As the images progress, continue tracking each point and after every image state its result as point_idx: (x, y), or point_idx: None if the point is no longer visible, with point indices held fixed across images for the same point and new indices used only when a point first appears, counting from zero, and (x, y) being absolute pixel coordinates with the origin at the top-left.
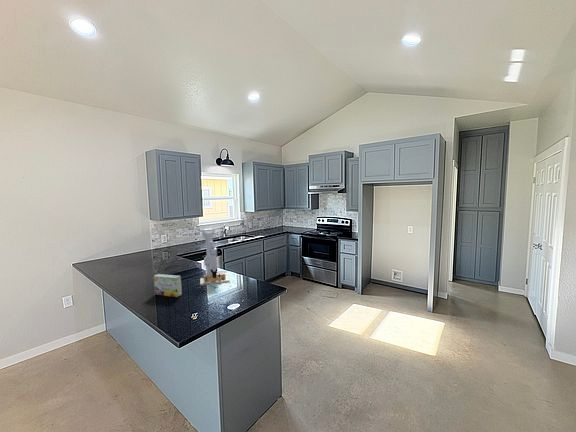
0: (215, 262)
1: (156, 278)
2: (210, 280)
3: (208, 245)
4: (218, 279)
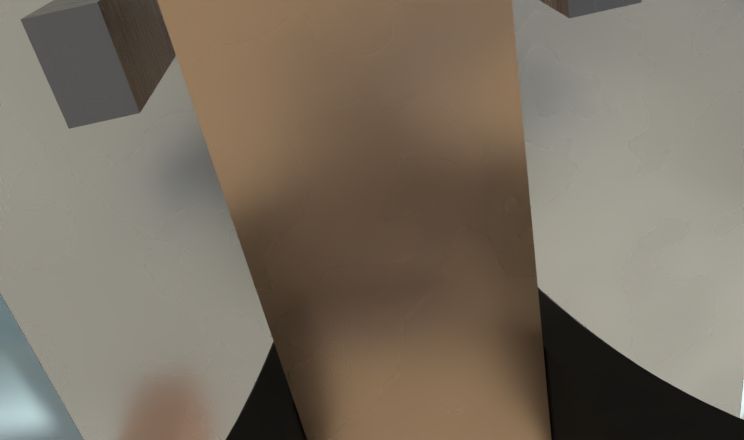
0: None
1: None
2: None
3: None
4: None
